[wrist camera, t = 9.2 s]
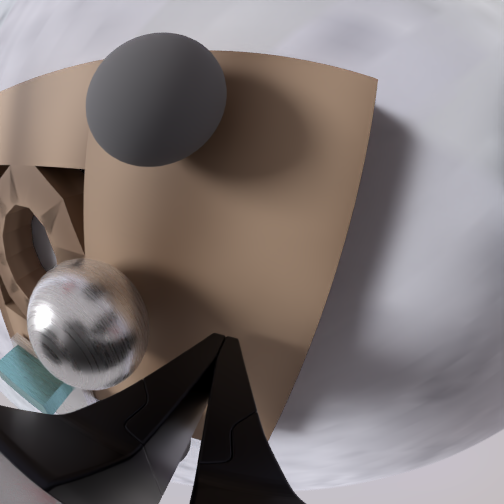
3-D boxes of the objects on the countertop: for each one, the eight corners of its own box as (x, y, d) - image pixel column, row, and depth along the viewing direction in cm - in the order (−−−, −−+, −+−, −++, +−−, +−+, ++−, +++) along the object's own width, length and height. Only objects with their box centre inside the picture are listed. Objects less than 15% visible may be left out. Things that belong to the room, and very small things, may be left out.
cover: (87, 376, 12) (55, 415, 9) (109, 434, 15) (90, 465, 11) (17, 332, 13) (-13, 358, 9) (44, 395, 15) (24, 419, 12)
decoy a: (249, 59, 6) (217, 2, 3) (228, 171, 8) (180, 182, 4) (145, 59, 7) (76, 28, 3) (127, 158, 8) (49, 168, 5)
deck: (359, 95, 8) (377, 79, 6) (266, 422, 15) (261, 453, 12) (14, 98, 10) (-13, 97, 8) (30, 329, 16) (12, 344, 14)
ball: (172, 255, 9) (88, 331, 5) (169, 354, 10) (120, 436, 6) (75, 230, 9) (-11, 274, 5) (86, 321, 11) (27, 379, 7)
